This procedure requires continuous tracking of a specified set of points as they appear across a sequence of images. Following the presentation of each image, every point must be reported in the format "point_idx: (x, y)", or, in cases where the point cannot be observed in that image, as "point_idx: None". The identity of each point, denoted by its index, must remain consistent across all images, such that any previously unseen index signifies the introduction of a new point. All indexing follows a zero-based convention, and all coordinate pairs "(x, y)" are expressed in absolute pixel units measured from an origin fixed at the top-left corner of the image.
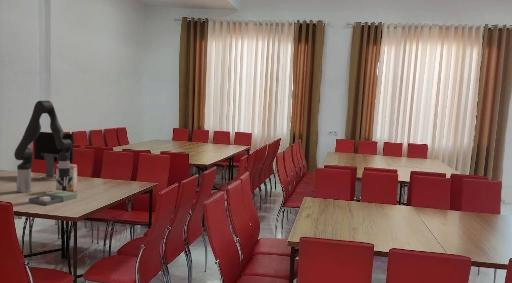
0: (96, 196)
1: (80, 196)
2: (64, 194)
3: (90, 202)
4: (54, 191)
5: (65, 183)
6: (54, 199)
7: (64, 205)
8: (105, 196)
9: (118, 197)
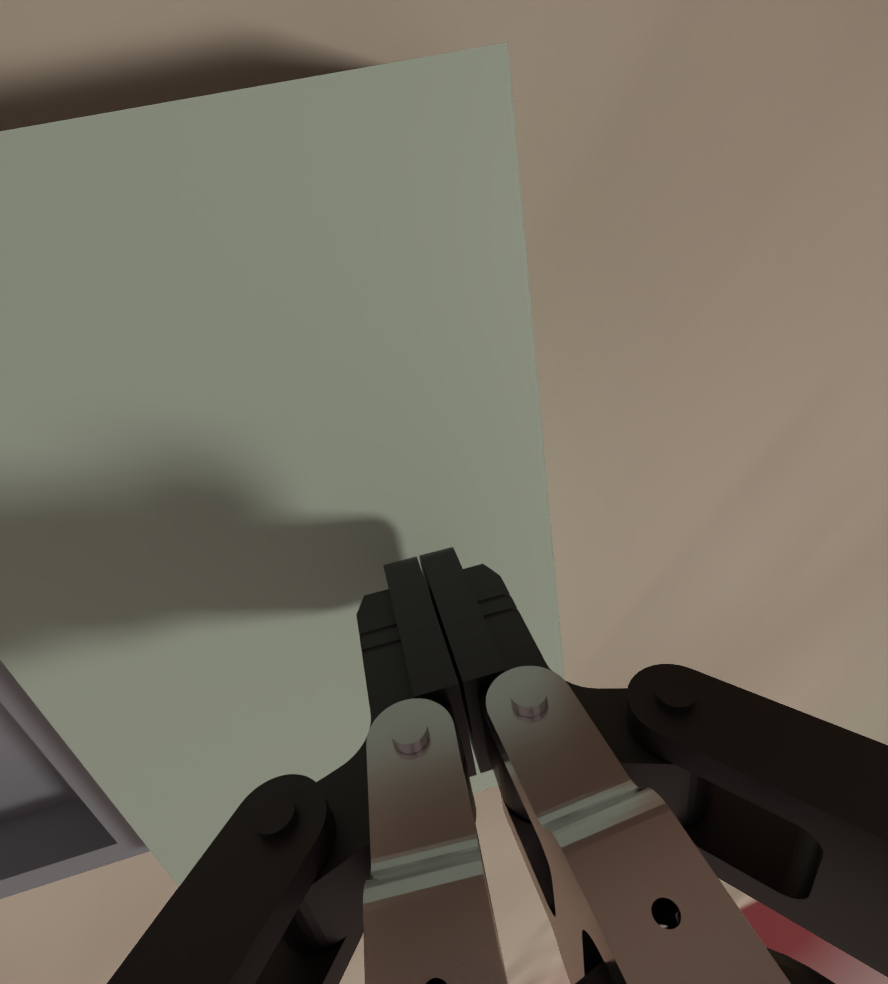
0: (809, 673)
1: (685, 548)
2: None
3: (498, 909)
4: (199, 205)
5: (532, 872)
6: None
7: (117, 951)
8: (859, 723)
9: None
